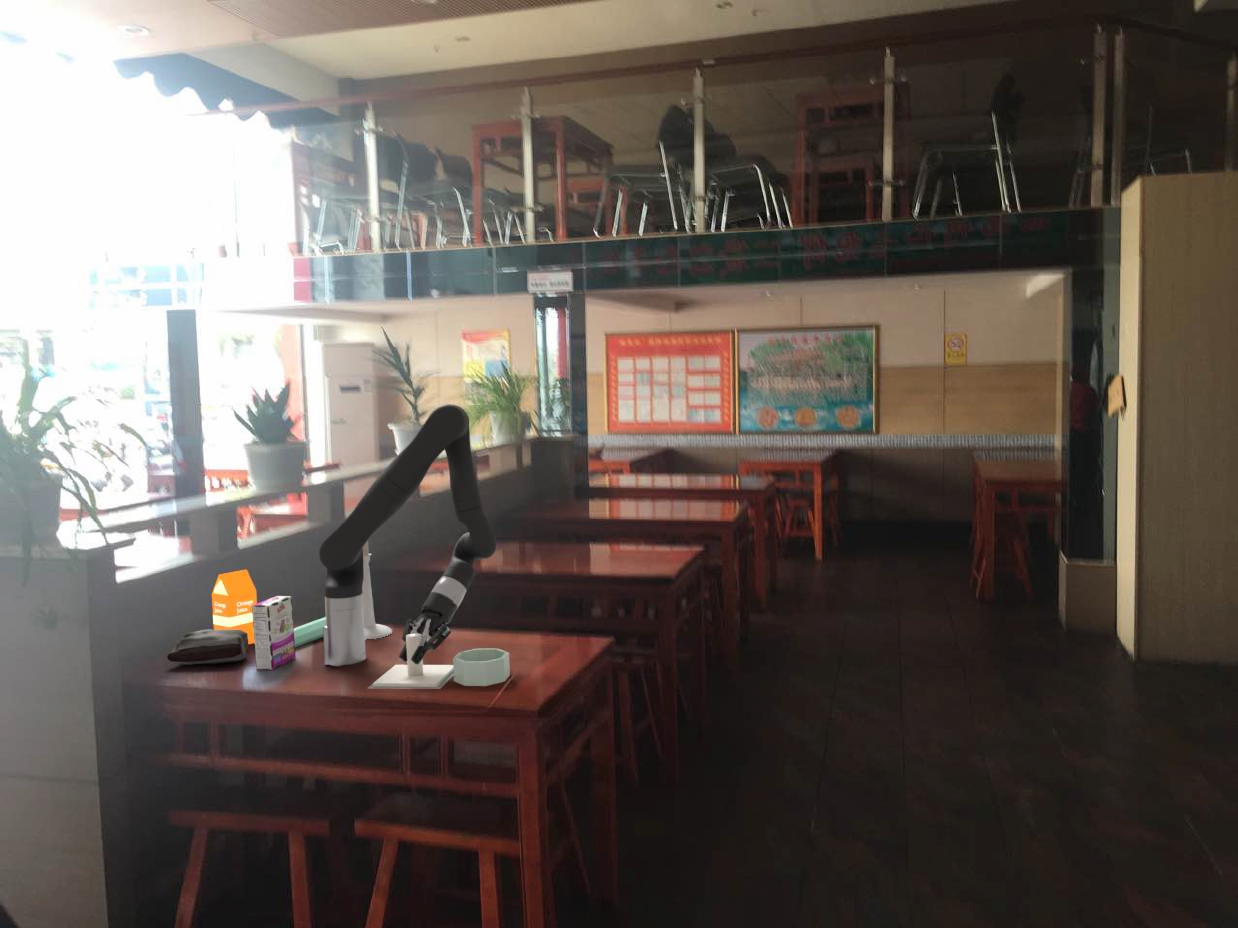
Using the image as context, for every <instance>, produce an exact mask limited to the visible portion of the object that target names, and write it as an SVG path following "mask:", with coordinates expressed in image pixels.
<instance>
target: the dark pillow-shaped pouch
mask: <svg viewBox="0 0 1238 928" xmlns="http://www.w3.org/2000/svg"><path fill="white" fill-rule="evenodd" d="M248 647H249V644H248V634H247V633H245V632H244V631H243V630H225V629H219V630H214V629H209V628H207V629H201V630H196V631H190V632H186V633H185V634H184V635H183V636H182V638H181V639H179V640H177V642H176V644H174V648H173V650H172V651H170V652H169V653H168V654H167V657H166V658H167V660H168V661H170V662H172V663H182V664H183V665H186V666H187V665H188V666H191V665H202V664H212V665H213V664H223V663H230V662H231V663H232V662H240V661H242V660H244V659H245V657H246V654H247V652H246V650H247V648H248Z"/></svg>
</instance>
